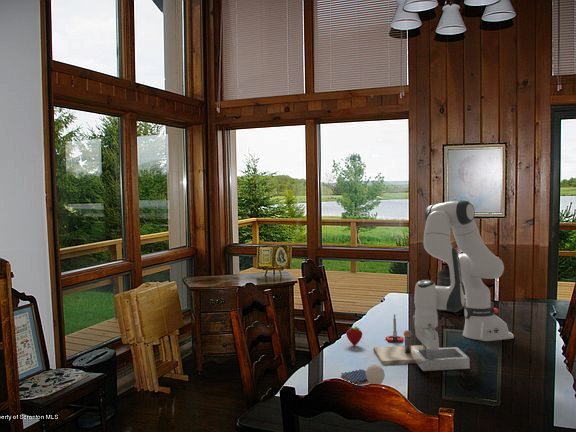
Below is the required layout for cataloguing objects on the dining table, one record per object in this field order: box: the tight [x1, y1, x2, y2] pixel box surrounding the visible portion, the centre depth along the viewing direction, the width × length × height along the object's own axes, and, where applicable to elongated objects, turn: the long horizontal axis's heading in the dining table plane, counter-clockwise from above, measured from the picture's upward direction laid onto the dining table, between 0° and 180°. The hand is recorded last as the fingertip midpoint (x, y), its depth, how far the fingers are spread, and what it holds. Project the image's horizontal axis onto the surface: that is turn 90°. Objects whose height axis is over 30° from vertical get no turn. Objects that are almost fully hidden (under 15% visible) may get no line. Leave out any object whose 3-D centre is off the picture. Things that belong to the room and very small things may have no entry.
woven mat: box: [340, 368, 369, 385], centre depth 194 cm, size 10×11×2 cm
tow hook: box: [385, 314, 405, 343], centre depth 242 cm, size 8×13×9 cm
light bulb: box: [365, 364, 386, 385], centre depth 177 cm, size 7×7×11 cm
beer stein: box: [436, 265, 465, 313], centre depth 297 cm, size 16×19×25 cm
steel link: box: [413, 346, 471, 372], centre depth 201 cm, size 18×13×4 cm
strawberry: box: [345, 326, 363, 346], centre depth 235 cm, size 6×8×10 cm
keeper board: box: [373, 329, 423, 366], centre depth 218 cm, size 26×18×11 cm
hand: (427, 355), depth 207 cm, fingers closed on steel link, 2 cm apart
